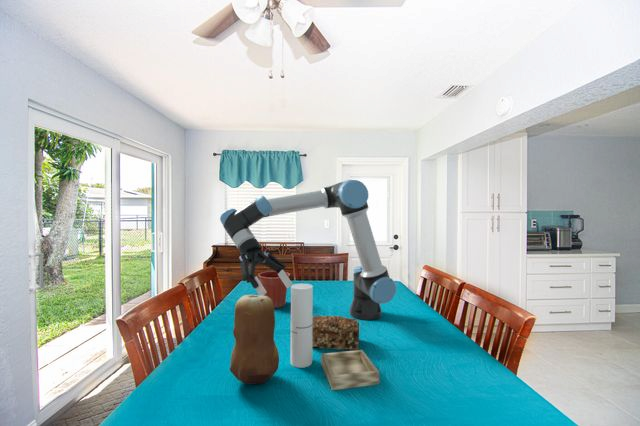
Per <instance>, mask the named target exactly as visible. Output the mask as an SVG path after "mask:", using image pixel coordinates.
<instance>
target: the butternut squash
mask: <svg viewBox="0 0 640 426" xmlns="http://www.w3.org/2000/svg"><path fill="white" fill-rule="evenodd" d="M233 325H234V326H233V329H232V335H233V337H234V345H233V349H232V352H231V356H230V366H229V371H230V373H231V374H232V375H233V376H234V378H235V379H236V380H238V381H239V382H241V383H243V384H244V385H245V384H246V385H248V384H250V385H252V384H253V385H256V386H257V385H261V384H264V383H265V382H266V381H268V380H269V379H270V378H271V377H273V376H274V375H275V374H276V372H277V371H278V369H279V366H280V365H279V364H280V354H279V350H278V347H277V345H276V343H275V338H274V337H275V328H276V315H275V308H274V305H273V302H272V300H271V299H270V298H269V297H267V296H263V295H259V294H257V295H256V294H252V293H251V294H244V295H243V296H241V297H240V298H239V299H238V300H237V301H236V304H235V306H234V320H233Z"/></svg>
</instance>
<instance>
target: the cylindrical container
mask: <svg viewBox="0 0 640 426" xmlns="http://www.w3.org/2000/svg"><path fill="white" fill-rule="evenodd" d="M313 288H314V286H313V285H312V284H310V283H294V284H292V285H291V286H290V364H291V366H293V367H294V368H300V369H302V368H306V367H307V368H308V367H310V366H311V365H312V363H313V347H312V323H313V317H314V316H313V315H314V314H313V312H314V311H313V310H314V307H313V306H314V305H313V303H314V302H313V301H314V300H313V297H314V295H313V293H314V289H313Z"/></svg>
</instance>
